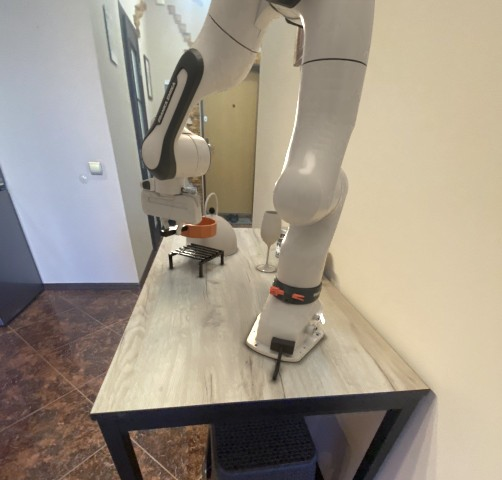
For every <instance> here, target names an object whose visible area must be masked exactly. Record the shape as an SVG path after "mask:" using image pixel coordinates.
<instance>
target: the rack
mask: <svg viewBox="0 0 502 480" xmlns="http://www.w3.org/2000/svg"><path fill="white" fill-rule="evenodd" d="M201 247H202V248H201ZM205 248H206V249H205ZM189 249H190V250H189ZM199 249H200V250H199ZM209 249H210V250H209ZM203 250H204V251H203ZM213 250H214V251H213ZM197 251H198V252H197ZM207 251H208V252H207ZM217 251H218V252H217ZM191 252H192V253H191ZM201 252H202V253H201ZM211 252H212V253H211ZM205 253H206V254H205ZM198 254H199V255H198ZM209 254H210V255H209ZM202 255H203V256H202ZM220 255H221V257H220V263H219V264H220V265H222V266H224V264H225V256H224V251H223V250H219V249H215V248H211V247H206V246H202V245H198V244H194V243H190V245H187V246H186V245H183V246H182V247H181V246H180V247H179V248H176V249H174V250H170V252H169V253H168V254H167V257H168V267H169V269H170V270H173V269H174V259H173V257H175V256H182V257H186V258H189V259H192V260H193V259H194V260H197V261H198V277H199V278H203V277H204V269H203V267H204V266H203V265H204V264H206V263H208V262H210V261H212V260H214V259H216V258H219V257H218V256H220Z"/></svg>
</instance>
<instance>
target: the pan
mask: <svg viewBox="0 0 502 480" xmlns="http://www.w3.org/2000/svg"><path fill="white" fill-rule="evenodd" d="M203 216H204V215H202V221H201V222H200V223H199V224H196V225H193V224H188V223H184V225H183V227H182V229H181V235H180V236H182V237H184V238H186V237H189V238H210V237H214V236H215V235H216V234H217V221H216V220H214V219H212V218H208V217H203ZM170 227H171V228H167V229H165V228H164V229H161V230H159V234H160V235H159V236H160V237H163V238H168V237H171V236H175V235H174V229H176V228H177V224H176V223H175V225H174V226H170Z"/></svg>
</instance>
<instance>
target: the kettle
mask: <svg viewBox="0 0 502 480" xmlns="http://www.w3.org/2000/svg"><path fill="white" fill-rule="evenodd" d="M212 196H214V198H215V204H216V209H215V208H214V207H213V206H211V207H209V208H208V203H209V200H210V198H211V197H212ZM207 208H208V214H207ZM203 211H204V212H203V215H202V216H203V217H208V218H212V219H214V220H216V221H217V234H216V235H215V236H214V237H210V238H189V237H185V244H186V245H185V246H187V245H190V243H194V244H198V245H202V246H206V247H211V248H215V249H219V250H223V251H224V257H228V256H232V255H234V254H235V253H237V252H238V240H237V235H236V231H235V229H234V227H233V226H232V225H231V224H230V222H229V221H228V220H226V219H225V218H224V217H223V216H220V215H218V214H219V199H218V195H217V193H215V192H211V193H209V194H208V196H207V197H206V200H205V203H204V209H203ZM201 248H202V247H201ZM205 249H206V248H205ZM189 250H190V249H189ZM199 250H200V249H199ZM209 250H210V249H209ZM203 251H204V250H203ZM213 251H214V250H213ZM197 252H198V251H197ZM207 252H208V251H207ZM217 252H218V251H217ZM190 253H192V252H190ZM201 253H202V252H201ZM211 253H212V252H211ZM205 254H206V253H205ZM198 255H199V254H198ZM209 255H210V254H209ZM202 256H203V255H202ZM217 258H221V255H220V256H218V257H217Z"/></svg>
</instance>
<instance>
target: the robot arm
mask: <svg viewBox="0 0 502 480" xmlns="http://www.w3.org/2000/svg"><path fill="white" fill-rule="evenodd" d="M375 4H376V0H211V1H210V3H209V7H208V11H207V14H206V17H205V18H204V19H205V20H204V22H203V24H202V27H201V29H200V31H199V33H198V35H197V36H196V38H195V40H194V41H193V43H192V44H191V46H190V47H189V48H188V49H187V50H186V51H185V52H184V53H182V55H181V56H180V58H179V59H178V61H177V63H176V65H175V68H174V70H173V72H172V74H171V77H170V80H169V82H168V85H167V87H166V89H165V92H164V95H163V96H162V100H161V102H160V105H159V108H158V110H157V112H156V115H155V116H154V117H153V118H152V119H151V120H150V124H149V129H148V130H147V132H146V133H145V135H144V137H143V139H142V142H141V146H140V157H141V160H142V163H143V165H144V167H145V168H146V170H147V171H148V172H149V173H150V175H152V177H150V178H147V179H144V180H141V181H139V187H140V189H141V192H140V201H141V209H142V211H143V213H144V215H148V216H152V217H157V218H160V222H161V224H162V225H163V227H164V229H167V228H171V227H172V226H171V225H170V223H169V220H170V221H173V222H174V221H175V225H176V224H177V228H176V229H174V235H173V236H178V237H179V236H181V229H182V227H183V225H184V223H188V224H193V225H196V224H199V223H200V222H201V221H202V216H203V212H202V206H201V195H200V194H199V192H197V190H195V189H189V188H186V179H187V178H199V177H201V176H205V175H206V174H207V173H208V172H209V170H210V168H211V164H212V152H211V148H210V146H209V144H208V142H207V141H206V139H205V138H204V137H203V136H199V135H197V134H196V133H194V132H193V131H191V130H190V129H188V128H186V125H187V122H188V121H189V118H190V116H191V114H192V112H193V110H194V109H195V107H196V106H197V105H198V104H199V103H200V102H201V101H203V100H204V99H206V98H208V97H211V96H213V95H216V94H219V93H223V92H227V91H231V90H233V89H235V88H237V87H239V86H240V85H242V83H243V82H244V80H245V79H246V78H247V76H248V75H249V73H250V71H251V70H252V67H253V65H254V63H255V61H256V58H257V55H258V54H259V51H260V49H261V46H262V45H263V41H264V39H265V36H266V33H267V32H268V30H269V28H270V27H271V25H272V24H273V23H274V22H275V21H276V20H277V19H280V18H284V20H285V22H286V24H288V25H291V26H295V27H297V28H299V29H303V49H302V57H301V63H300V64H301V65H300V74H299V75H300V76H299V84H298V92H297V101H296V109H295V111H296V112H295V119H294V125H293V129H292V133H291V137H290V140H289V146H288V148H287V152H286V155H285V160H284V164H283V167H282V171H281V174H280V175H279V177H278V178H277V180H276V182H275V185H274V187H273V191H272V204H273V207H274V211H276V212H277V214H278V215H279V217H280V218H281V221H283V222H285V223H287V224H288V226H287V229H286V232H285V235H284V237H283V239H282V241H281V243H280V246H279V254H278V261H277V268H276V273H275V274H274V278H273V279H272V280H273V281H272V284H271V286H270V288H269V290H268V296H267V298H266V301H265V303H264V306H263V308H262V309H261V312H260V313H259V314H258V315H257V317H256V319H255V321H254V323H253V326H252V328H251V330H250V331H249V334H248V336H247V339H246V342H245V344H246V345H247V346H248V347H249V348H250V349H252V350H253V351H254V352H256V353H259V354H261V355H263V356H265V357H269V358H272V359H275V360H276V364H275V369H274V372H273V375H272V379H271V380H272V381H276V380H277V378H278V377H277V376H278V374H279V369H280V366H281V361H283V362H291V363H292V362H293V363H297V362H299V361H301V360H302V359H303V358H304V357H305V356H306V355H307V354H308V353H309V352H310V351H311V350H312V349H313V348H314V347H315V346H316V345H317V344H318V343H319V342H320V341H321V340H322V339H323V338H324V334H325V333H324V331H323V330H322V329H320V324H321V323H322V325H324V324H325V322H326V320H325V318H324V316H323V308H324V306H323V304H322V302H321V301H320V296H321V292H322V289H323V281H322V279H323V275H324V271H325V266H326V262H327V257H328V254H329V250H330V248H331V247H330V246H331V244H332V241H333V238H334V236H335V233H336V230H337V228H338V225H339V221H340V218H341V215H342V212H343V210H344V209H343V208H344V206H345V201H346V199H347V196H348V192H349V179H348V177H347V174H346V172H345V170H344V169H343V168H342V166H343V161H344V157H345V155H346V151H347V148H348V145H349V142H350V139H351V136H352V134H353V131H354V129H355V127H356V124H357V117H358V114H359V108H360V104H361V99H362V92H363V89H364V83H365V78H366V73H367V68H368V64H369V58H370V52H371V45H372V38H373V28H374V21H375V19H374V18H375V7H376V5H375Z"/></svg>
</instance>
